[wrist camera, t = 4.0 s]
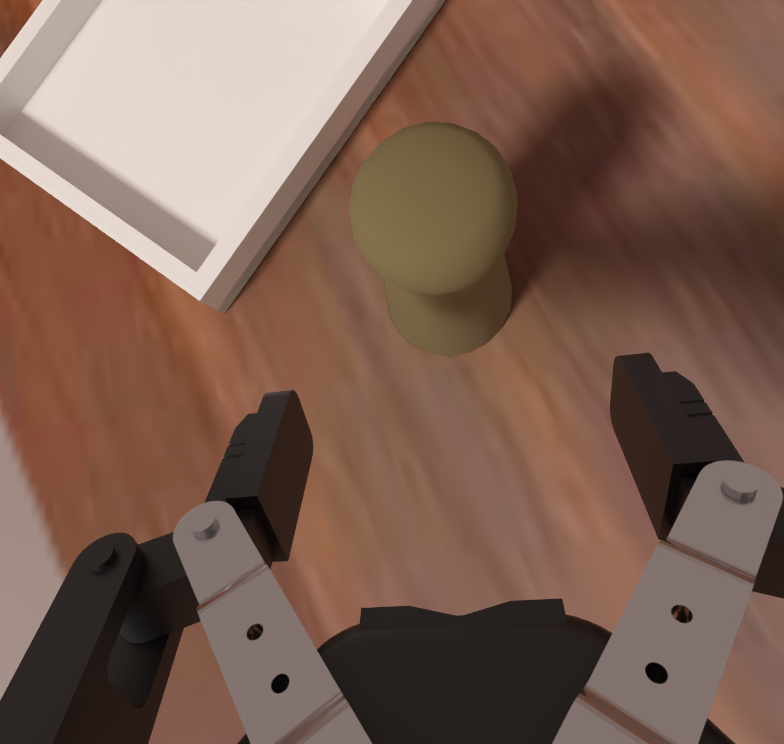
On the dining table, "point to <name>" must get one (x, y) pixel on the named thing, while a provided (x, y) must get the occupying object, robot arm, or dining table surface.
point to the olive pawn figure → (438, 234)
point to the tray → (195, 117)
